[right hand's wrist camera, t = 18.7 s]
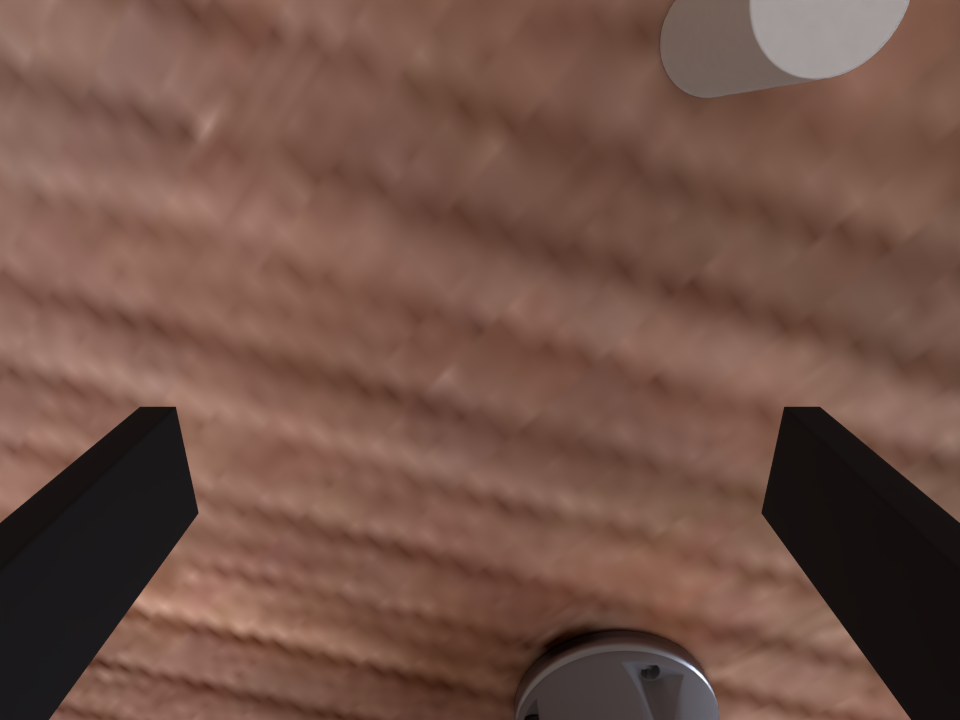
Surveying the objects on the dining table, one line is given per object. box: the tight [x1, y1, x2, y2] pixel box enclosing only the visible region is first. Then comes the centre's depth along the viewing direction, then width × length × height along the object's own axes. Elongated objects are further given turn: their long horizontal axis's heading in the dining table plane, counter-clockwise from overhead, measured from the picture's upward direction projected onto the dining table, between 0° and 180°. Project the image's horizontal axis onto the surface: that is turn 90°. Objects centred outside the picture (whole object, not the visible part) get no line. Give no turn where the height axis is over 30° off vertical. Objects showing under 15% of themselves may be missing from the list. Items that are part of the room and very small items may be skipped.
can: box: [660, 0, 910, 98], centre depth 25 cm, size 6×6×11 cm
